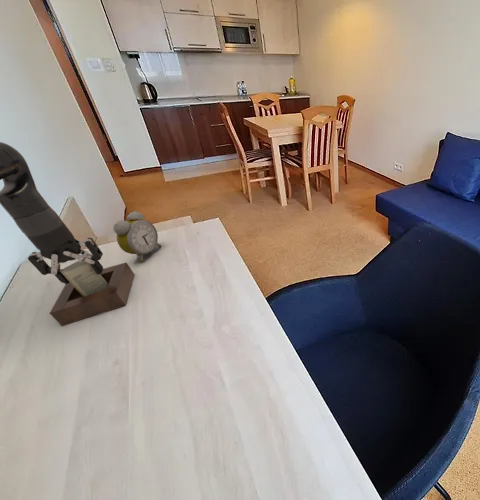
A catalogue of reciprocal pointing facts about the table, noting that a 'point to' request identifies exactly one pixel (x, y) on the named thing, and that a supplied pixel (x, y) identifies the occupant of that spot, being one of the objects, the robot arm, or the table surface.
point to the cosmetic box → (84, 278)
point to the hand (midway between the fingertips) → (84, 277)
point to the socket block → (94, 297)
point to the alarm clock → (136, 235)
